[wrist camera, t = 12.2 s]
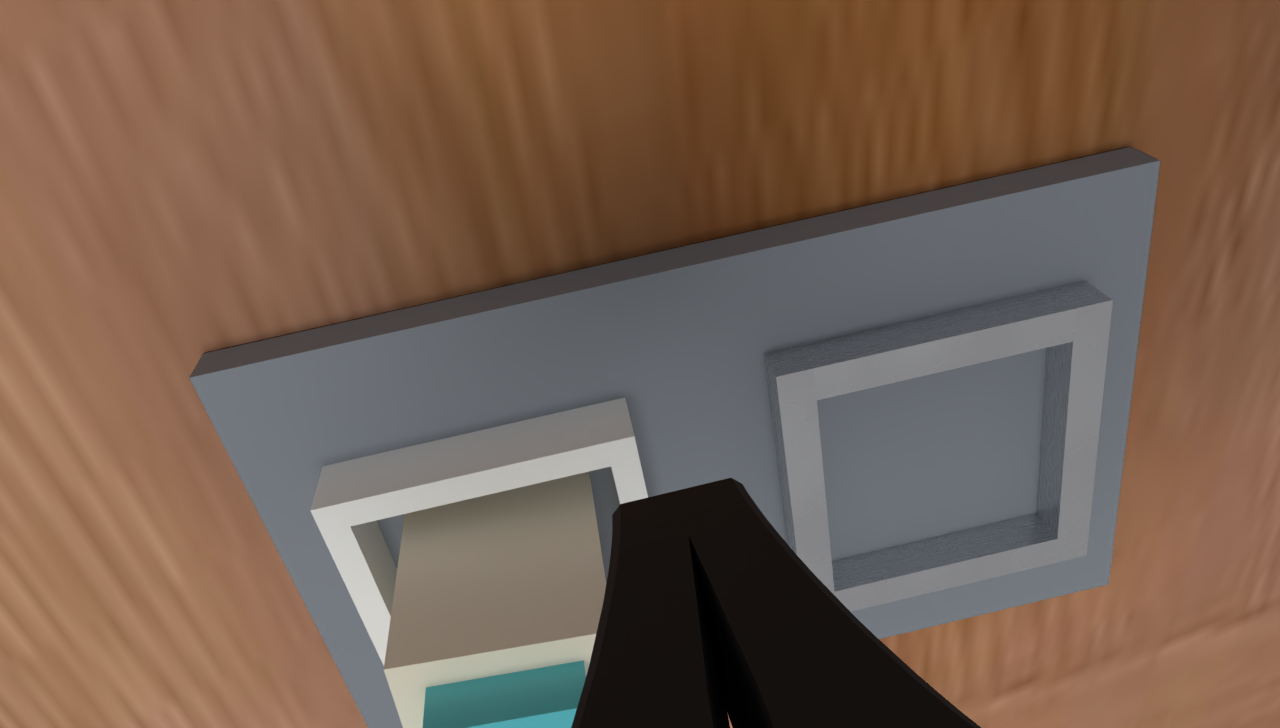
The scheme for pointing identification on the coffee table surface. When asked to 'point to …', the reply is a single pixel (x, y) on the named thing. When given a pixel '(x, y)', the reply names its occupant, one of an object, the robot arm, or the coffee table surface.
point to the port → (459, 487)
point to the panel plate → (726, 382)
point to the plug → (497, 608)
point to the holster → (931, 345)
